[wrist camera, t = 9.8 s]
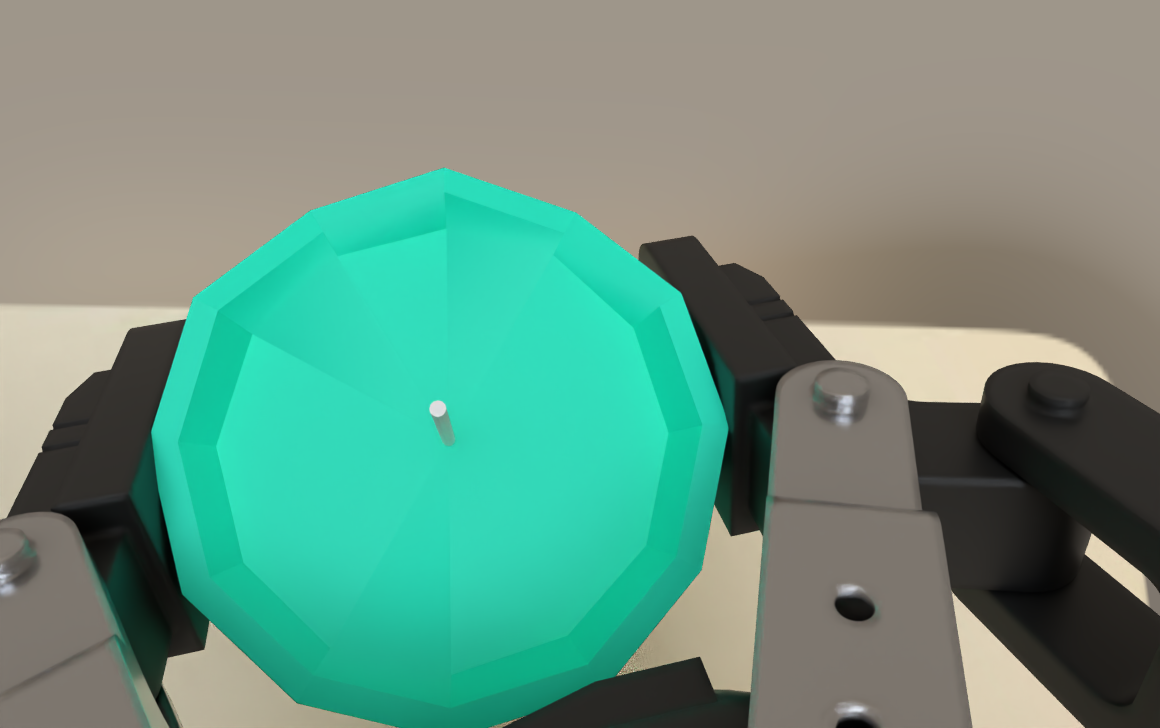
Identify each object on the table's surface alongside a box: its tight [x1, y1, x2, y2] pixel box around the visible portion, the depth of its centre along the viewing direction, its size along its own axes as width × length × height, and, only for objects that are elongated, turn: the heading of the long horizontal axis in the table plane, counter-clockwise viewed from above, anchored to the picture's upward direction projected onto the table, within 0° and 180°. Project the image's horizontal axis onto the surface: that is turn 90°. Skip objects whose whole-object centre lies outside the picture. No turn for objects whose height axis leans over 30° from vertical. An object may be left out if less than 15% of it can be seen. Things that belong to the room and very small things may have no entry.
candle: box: [151, 168, 729, 728], centre depth 13 cm, size 6×6×12 cm
